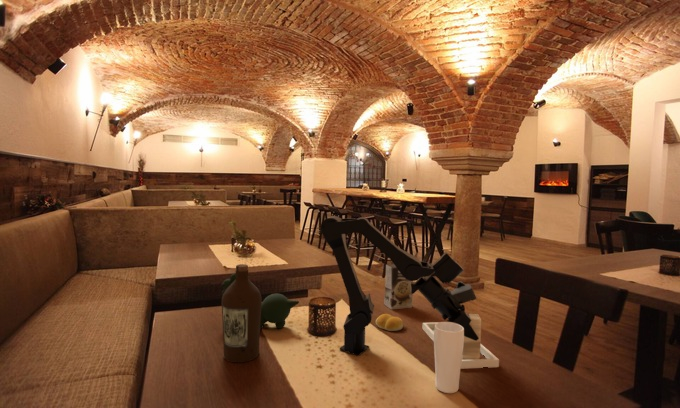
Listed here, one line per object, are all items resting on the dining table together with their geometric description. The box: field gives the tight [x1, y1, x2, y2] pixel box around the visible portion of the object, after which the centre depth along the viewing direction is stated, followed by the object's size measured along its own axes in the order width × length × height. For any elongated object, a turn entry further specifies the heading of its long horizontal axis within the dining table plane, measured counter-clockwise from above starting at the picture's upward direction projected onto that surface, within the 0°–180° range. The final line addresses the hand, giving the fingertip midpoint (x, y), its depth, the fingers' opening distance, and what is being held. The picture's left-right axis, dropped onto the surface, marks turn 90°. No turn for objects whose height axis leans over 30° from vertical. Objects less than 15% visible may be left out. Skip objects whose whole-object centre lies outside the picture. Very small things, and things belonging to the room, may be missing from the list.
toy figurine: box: [220, 272, 300, 330], centre depth 130 cm, size 9×19×25 cm
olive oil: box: [221, 263, 263, 363], centre depth 108 cm, size 11×11×25 cm
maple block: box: [462, 313, 482, 360], centre depth 109 cm, size 4×4×12 cm
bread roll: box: [375, 313, 404, 332], centre depth 133 cm, size 8×9×4 cm
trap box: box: [422, 321, 500, 370], centre depth 118 cm, size 28×12×2 cm, turn 7°
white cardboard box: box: [383, 263, 414, 310], centre depth 153 cm, size 9×6×16 cm
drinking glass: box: [433, 321, 464, 394], centre depth 94 cm, size 7×7×15 cm
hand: (475, 336), depth 109 cm, fingers closed on maple block, 4 cm apart
